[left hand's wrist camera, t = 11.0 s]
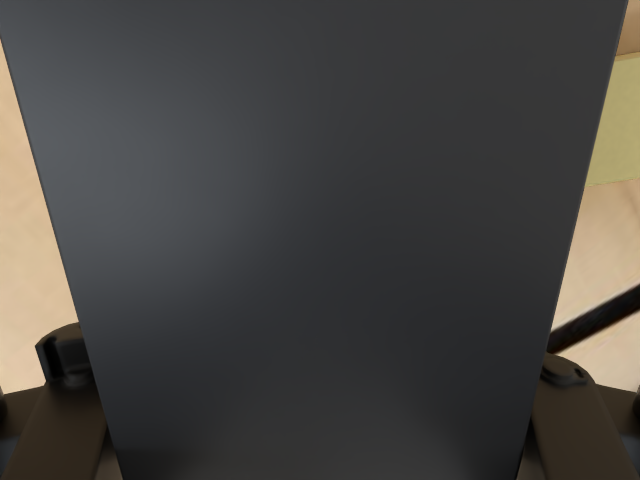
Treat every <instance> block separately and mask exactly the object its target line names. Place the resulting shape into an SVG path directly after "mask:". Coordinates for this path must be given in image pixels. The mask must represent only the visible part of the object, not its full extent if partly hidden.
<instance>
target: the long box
mask: <svg viewBox="0 0 640 480" xmlns="http://www.w3.org/2000/svg"><path fill="white" fill-rule="evenodd" d="M627 5H628V0H0V40H1V43H2V47H3V50H4V54H5V58H6V61H7V65H8V68H9V72H10V76H11V79H12V83H13V86H14V90H15V94H16V97H17V101H18V104H19V108H20V112H21V115H22V119H23V122H24V126H25V130H26V133H27V137H28V140H29V144H30V148H31V151H32V155H33V158H34V162H35V166H36V169H37V173H38V176H39V180H40V184H41V187H42V191H43V194H44V198H45V202H46V205H47V209H48V212H49V216H50V220H51V223H52V227H53V230H54V234H55V238H56V241H57V245H58V248H59V252H60V256H61V259H62V263H63V266H64V270H65V274H66V277H67V281H68V284H69V288H70V292H71V295H72V299H73V302H74V306H75V310H76V313H77V317H78V320H79V324H80V328H81V331H82V335H83V338H84V342H85V346H86V349H87V353H88V356H89V360H90V364H91V367H92V371H93V374H94V378H95V382H96V385H97V389H98V392H99V396H100V400H101V403H102V407H103V410H104V414H105V418H106V421H107V425H108V428H109V432H110V436H111V439H112V443H113V446H114V450H115V454H116V457H117V461H118V464H119V468H120V472H121V475H122V479H123V480H516V475H517V471H518V467H519V463H520V458H521V454H522V450H523V446H524V441H525V437H526V433H527V429H528V425H529V420H530V416H531V412H532V408H533V403H534V399H535V395H536V391H537V386H538V382H539V378H540V374H541V369H542V365H543V361H544V357H545V352H546V348H547V344H548V340H549V335H550V331H551V327H552V323H553V318H554V314H555V310H556V306H557V302H558V297H559V293H560V289H561V285H562V280H563V276H564V272H565V268H566V263H567V259H568V255H569V251H570V246H571V242H572V238H573V234H574V229H575V225H576V221H577V217H578V212H579V208H580V204H581V200H582V195H583V191H584V187H585V183H586V179H587V174H588V170H589V166H590V162H591V157H592V153H593V149H594V145H595V140H596V136H597V132H598V128H599V123H600V119H601V115H602V111H603V106H604V102H605V98H606V94H607V89H608V85H609V81H610V77H611V72H612V68H613V64H614V60H615V56H616V51H617V47H618V43H619V39H620V34H621V30H622V26H623V22H624V17H625V13H626V9H627Z"/></svg>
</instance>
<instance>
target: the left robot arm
mask: <svg viewBox="0 0 640 480" xmlns="http://www.w3.org/2000/svg"><path fill="white" fill-rule="evenodd" d="M35 348H36V351H37V354H38V358H39V361H40V364H41V367H42V370H43V373H44V376H45V379H46V382H45V384H44V386H41V387H37V388H32V389H27V390H23V391H18V392H13V393H8V394H4V395H3V392H2V389H1V387H0V480H123V479H122V475H121V472H120V468H119V464H118V461H117V457H116V454H115V450H114V446H113V443H112V439H111V436H110V432H109V428H108V425H107V421H106V418H105V414H104V410H103V407H102V403H101V400H100V396H99V392H98V389H97V385H96V382H95V378H94V374H93V371H92V367H91V364H90V360H89V356H88V353H87V349H86V346H85V342H84V338H83V335H82V331H81V328H80V324H79V322H77V323H73V324H68V325H66V326H63V327H61V328H58V329H56V330H54V331H52V332H51V333H49V334H47V335H46V336H44V337H43V338H42V339H41V340H40V341H39V342H38V343H37V344H36V345H35ZM516 480H640V386H639V388H638V391H637V393H635V392H631V391H626V390H621V389H616V388H612V387H607V386H602V385H598V384H595V381H594V380H593V378H592V377H591V376H590V375H589V373H588V372H587V371H586V370H584V369H583V368H582V367H580V366H579V365H578V364H576V363H574V362H572V361H570V360H568V359H566V358H564V357H560V356H557V355H553V354H549V353H547V352H545V357H544V361H543V365H542V369H541V374H540V378H539V382H538V386H537V391H536V395H535V399H534V403H533V408H532V412H531V416H530V420H529V425H528V429H527V433H526V437H525V441H524V446H523V450H522V454H521V458H520V463H519V467H518V471H517V475H516Z"/></svg>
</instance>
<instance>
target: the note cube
mask: <svg viewBox="0 0 640 480" xmlns="http://www.w3.org/2000/svg"><path fill="white" fill-rule="evenodd" d="M638 178H640V52H635V53H630V54H624V55H619V56H615V60H614V64H613V68H612V72H611V77H610V81H609V85H608V89H607V94H606V98H605V102H604V106H603V111H602V115H601V119H600V123H599V128H598V132H597V136H596V140H595V145H594V149H593V153H592V157H591V162H590V166H589V170H588V174H587V179H586V183H585V187H588V186H594V185H601V184H607V183H613V182H619V181H625V180H631V179H638Z"/></svg>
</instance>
